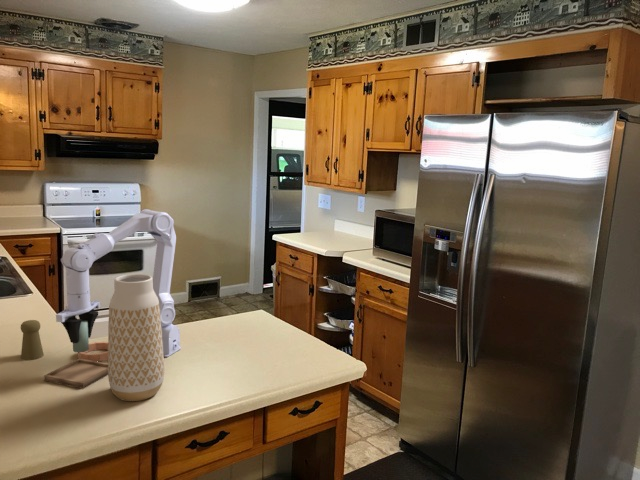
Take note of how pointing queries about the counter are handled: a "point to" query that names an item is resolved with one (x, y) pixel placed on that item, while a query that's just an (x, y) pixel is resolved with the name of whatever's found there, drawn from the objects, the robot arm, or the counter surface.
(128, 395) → the vase
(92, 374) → the walnut tray
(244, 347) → the counter surface
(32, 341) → the olive pepper mill
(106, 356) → the faceted terracotta ring
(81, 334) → the gray-green peg
